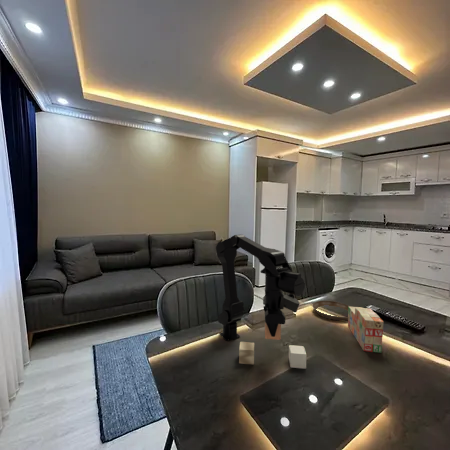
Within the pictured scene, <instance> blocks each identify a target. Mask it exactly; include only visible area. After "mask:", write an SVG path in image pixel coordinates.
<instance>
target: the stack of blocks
mask: <svg viewBox="0 0 450 450" xmlns="http://www.w3.org/2000/svg"><path fill="white" fill-rule="evenodd" d="M349 306H350V305H349ZM349 306H348V320H347V326H348V328H349V329H350V331H351V333H352V335H353V336H354V338H355V340H356V341H357V343H358V344H359V345H360V347H361V349H362V350H363V352H370V353H381V354H382V349H383V336H384V334H383V333H384V320H383V319H382V318H381V317H380V316H379V315H378V314H377V313H376V312H374V310H372V308H369V307H368V308H367V307H365V308H364V307H362V306H361V307H359V306H351V307H349Z"/></svg>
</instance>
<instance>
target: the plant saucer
mask: <svg viewBox="0 0 450 450" xmlns="http://www.w3.org/2000/svg"><path fill="white" fill-rule="evenodd" d="M324 305H329V306H335V307H340V308H343V309H345V310H347V311H348V306H349V307H352V306H351V305H348V304H346V303H342V302H338V301H333V300H318V301H315V302H313V303H312V305H311V306H312V308H313V310H314V311H315V312H316V313H317V314H318V315H319V316H320V315H321V317H322V316H323V317H322V318H324V319H329V320H331V319H333V320H332V321H338V320H345V321H348V317H337V316H331V315H327V314H324V313H321V312H319V311H317V310H316V309H317V308H318V307H320V306H324Z"/></svg>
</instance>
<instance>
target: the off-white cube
mask: <svg viewBox="0 0 450 450" xmlns="http://www.w3.org/2000/svg"><path fill="white" fill-rule="evenodd" d="M288 362H289V366H290V368H296V369H307V353H306V349H305V347H304V346H302V345H293V344H292V345H288Z"/></svg>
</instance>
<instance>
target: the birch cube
mask: <svg viewBox="0 0 450 450" xmlns="http://www.w3.org/2000/svg"><path fill="white" fill-rule="evenodd" d="M238 354H239V355H238V358H239V359H238V364H244V365H253V366H254V364H255V342H249V341H248V342H246V341H240V342H239V350H238Z"/></svg>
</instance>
